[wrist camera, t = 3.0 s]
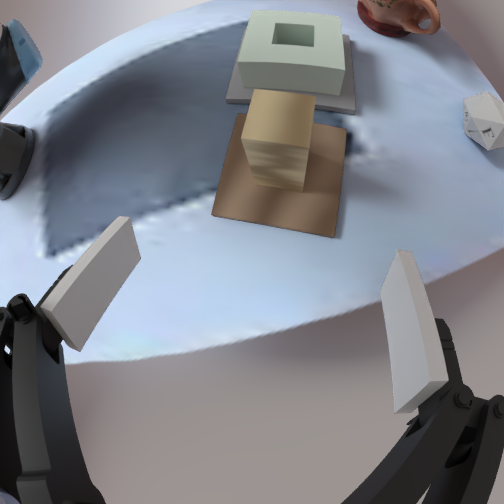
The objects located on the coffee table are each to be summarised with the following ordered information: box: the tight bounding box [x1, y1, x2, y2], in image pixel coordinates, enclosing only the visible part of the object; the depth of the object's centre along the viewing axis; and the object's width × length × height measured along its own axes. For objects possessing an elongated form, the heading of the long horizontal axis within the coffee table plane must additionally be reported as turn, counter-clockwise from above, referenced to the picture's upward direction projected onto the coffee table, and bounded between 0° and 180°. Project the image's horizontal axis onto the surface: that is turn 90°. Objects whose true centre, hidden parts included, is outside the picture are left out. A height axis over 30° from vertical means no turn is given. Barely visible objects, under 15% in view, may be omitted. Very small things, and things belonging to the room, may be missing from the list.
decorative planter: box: [357, 0, 441, 37], centre depth 24 cm, size 20×12×14 cm, turn 19°
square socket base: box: [226, 10, 356, 115], centre depth 29 cm, size 16×16×6 cm
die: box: [463, 91, 504, 151], centre depth 24 cm, size 8×9×10 cm
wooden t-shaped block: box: [211, 89, 347, 238], centre depth 25 cm, size 13×13×11 cm
